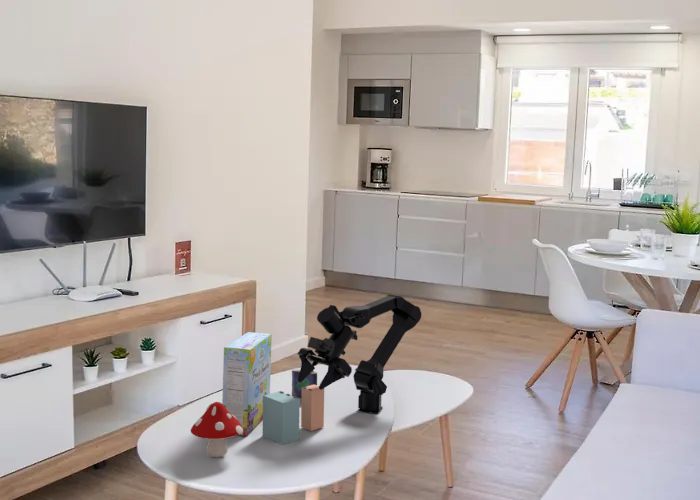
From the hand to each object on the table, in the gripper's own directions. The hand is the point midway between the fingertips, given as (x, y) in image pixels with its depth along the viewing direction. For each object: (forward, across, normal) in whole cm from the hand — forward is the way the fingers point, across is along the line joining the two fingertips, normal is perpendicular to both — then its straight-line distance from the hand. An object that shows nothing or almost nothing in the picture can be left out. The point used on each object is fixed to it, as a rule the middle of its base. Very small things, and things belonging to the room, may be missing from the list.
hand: (309, 385), depth 239 cm
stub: (+8, 0, +11) cm, 13 cm away
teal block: (+17, 0, +2) cm, 17 cm away
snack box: (+17, -16, +2) cm, 23 cm away
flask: (-4, -24, +23) cm, 34 cm away
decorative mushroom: (+32, -1, -13) cm, 35 cm away
